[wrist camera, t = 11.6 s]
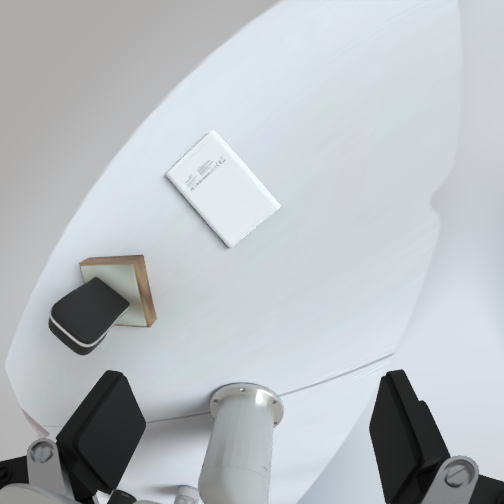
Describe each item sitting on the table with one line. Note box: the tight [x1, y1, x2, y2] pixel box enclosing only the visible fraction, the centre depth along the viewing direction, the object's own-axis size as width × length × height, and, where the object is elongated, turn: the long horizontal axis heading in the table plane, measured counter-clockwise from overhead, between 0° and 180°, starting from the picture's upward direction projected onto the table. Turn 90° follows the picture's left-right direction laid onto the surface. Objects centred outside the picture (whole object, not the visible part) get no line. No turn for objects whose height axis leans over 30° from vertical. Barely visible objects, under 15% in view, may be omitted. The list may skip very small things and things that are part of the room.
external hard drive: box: [166, 130, 281, 249], centre depth 35 cm, size 2×8×12 cm
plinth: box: [79, 255, 156, 327], centre depth 39 cm, size 10×10×3 cm
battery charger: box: [49, 277, 130, 355], centre depth 33 cm, size 7×4×11 cm, turn 55°
